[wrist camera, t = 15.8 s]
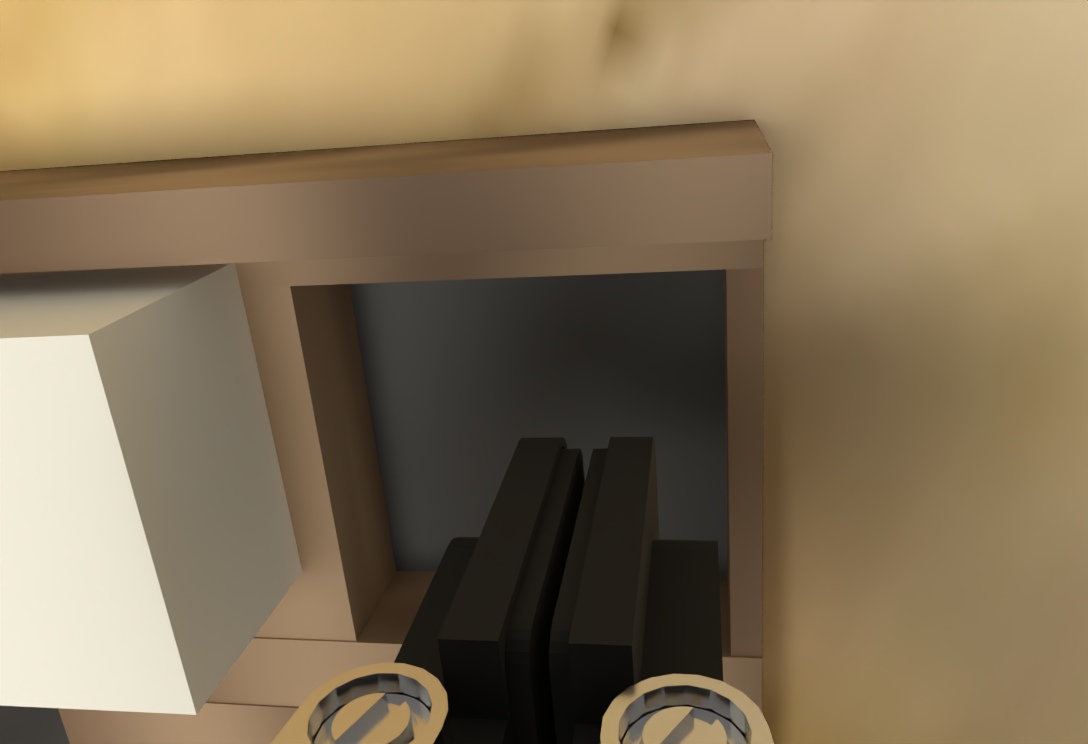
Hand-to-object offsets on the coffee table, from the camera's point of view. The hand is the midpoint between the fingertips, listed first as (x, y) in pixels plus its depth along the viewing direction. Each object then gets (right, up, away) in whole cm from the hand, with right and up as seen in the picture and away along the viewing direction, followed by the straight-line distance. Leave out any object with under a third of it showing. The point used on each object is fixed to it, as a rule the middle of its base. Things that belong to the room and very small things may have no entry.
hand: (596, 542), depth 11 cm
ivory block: (-8, +1, +4) cm, 9 cm away
